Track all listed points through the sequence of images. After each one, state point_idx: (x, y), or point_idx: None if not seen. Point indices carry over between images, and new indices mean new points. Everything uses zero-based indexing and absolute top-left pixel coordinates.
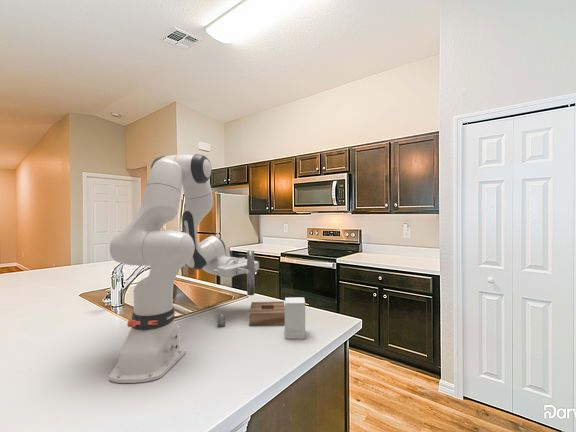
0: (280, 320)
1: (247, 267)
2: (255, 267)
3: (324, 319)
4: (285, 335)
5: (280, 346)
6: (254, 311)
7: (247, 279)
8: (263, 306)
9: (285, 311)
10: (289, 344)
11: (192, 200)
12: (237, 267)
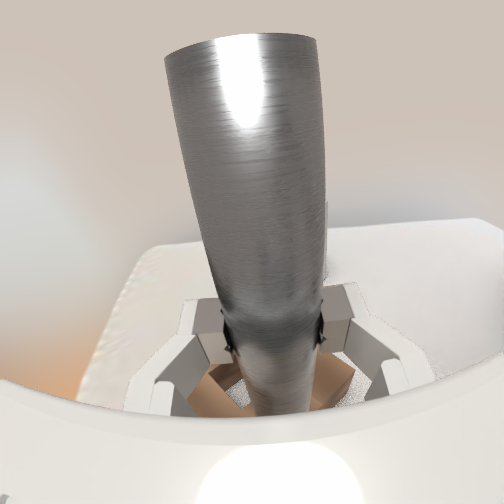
0: None
1: (321, 301)
2: (199, 301)
3: (168, 284)
4: (324, 272)
5: (355, 265)
6: (326, 372)
7: (312, 382)
8: (236, 406)
9: (326, 220)
10: (335, 261)
11: None
12: (442, 378)
